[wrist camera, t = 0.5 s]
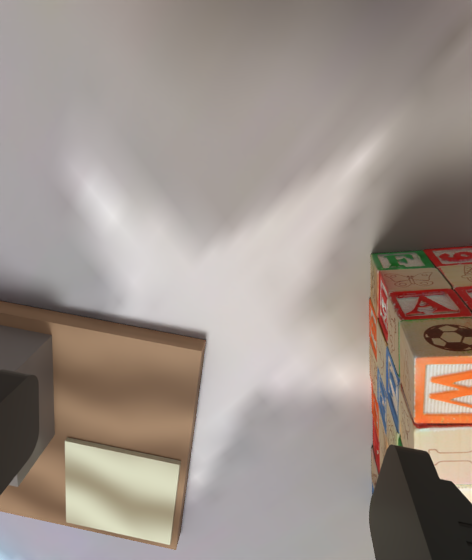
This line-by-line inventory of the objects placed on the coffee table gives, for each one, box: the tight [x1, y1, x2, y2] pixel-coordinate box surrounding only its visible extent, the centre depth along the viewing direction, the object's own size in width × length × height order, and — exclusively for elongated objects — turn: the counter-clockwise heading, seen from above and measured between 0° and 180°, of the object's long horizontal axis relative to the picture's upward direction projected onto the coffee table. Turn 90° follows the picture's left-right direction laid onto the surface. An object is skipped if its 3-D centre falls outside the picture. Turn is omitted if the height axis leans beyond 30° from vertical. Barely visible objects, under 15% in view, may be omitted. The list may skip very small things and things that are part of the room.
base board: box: [0, 301, 206, 550], centre depth 35 cm, size 20×20×2 cm
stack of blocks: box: [369, 246, 472, 504], centre depth 25 cm, size 21×6×12 cm, turn 7°
